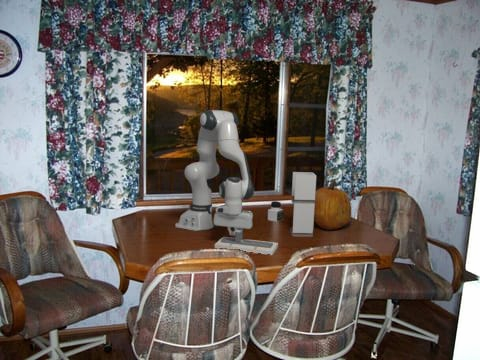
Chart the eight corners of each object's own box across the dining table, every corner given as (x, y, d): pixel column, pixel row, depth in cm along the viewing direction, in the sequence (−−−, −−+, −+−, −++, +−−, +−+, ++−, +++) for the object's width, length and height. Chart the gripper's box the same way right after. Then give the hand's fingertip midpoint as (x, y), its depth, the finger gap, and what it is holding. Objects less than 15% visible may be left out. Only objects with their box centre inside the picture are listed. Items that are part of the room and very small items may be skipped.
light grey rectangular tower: (309, 231, 264) (312, 172, 258) (312, 236, 254) (316, 175, 248) (289, 230, 264) (292, 172, 258) (292, 236, 253) (295, 175, 247)
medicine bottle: (276, 222, 282) (277, 203, 280) (267, 220, 286) (268, 201, 284) (282, 220, 288) (283, 201, 285) (273, 218, 292) (274, 200, 290)
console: (214, 248, 229) (214, 242, 229) (223, 240, 242) (223, 234, 242) (272, 255, 221) (272, 249, 221) (277, 246, 234) (278, 241, 234)
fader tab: (233, 243, 231) (234, 230, 229) (236, 240, 235) (237, 228, 234) (241, 244, 230) (241, 231, 228) (244, 241, 234) (244, 228, 233)
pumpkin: (322, 219, 291) (325, 174, 286) (355, 226, 277) (359, 179, 272) (301, 227, 271) (304, 178, 266) (335, 235, 257) (339, 184, 252)
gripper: (254, 209, 230) (253, 235, 233) (216, 206, 236) (216, 231, 238) (251, 212, 224) (250, 239, 227) (212, 208, 230) (212, 234, 232)
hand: (232, 235), depth 233 cm, fingers closed
